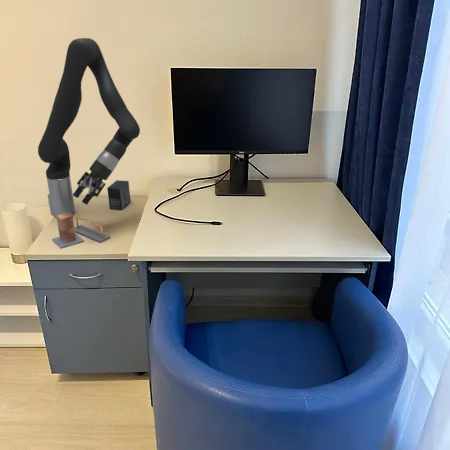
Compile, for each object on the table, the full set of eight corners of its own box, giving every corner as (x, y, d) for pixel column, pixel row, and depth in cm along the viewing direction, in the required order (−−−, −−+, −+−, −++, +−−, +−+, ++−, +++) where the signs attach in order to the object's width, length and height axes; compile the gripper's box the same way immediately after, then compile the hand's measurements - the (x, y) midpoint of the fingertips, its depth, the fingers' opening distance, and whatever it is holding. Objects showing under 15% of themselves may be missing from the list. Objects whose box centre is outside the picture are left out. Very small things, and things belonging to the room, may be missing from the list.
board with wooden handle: (100, 243, 163) (98, 226, 160) (70, 231, 172) (68, 214, 169) (110, 239, 167) (108, 222, 164) (81, 227, 176) (78, 210, 173)
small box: (118, 200, 202) (115, 179, 198) (131, 201, 201) (129, 180, 197) (108, 209, 193) (106, 187, 188) (122, 210, 192) (120, 188, 187)
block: (64, 243, 161) (60, 219, 157) (60, 239, 164) (56, 215, 160) (76, 240, 164) (72, 216, 160) (71, 235, 167) (67, 212, 163)
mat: (60, 248, 159) (60, 247, 158) (52, 239, 165) (51, 238, 165) (84, 241, 164) (84, 240, 164) (74, 233, 170) (74, 232, 170)
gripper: (89, 155, 166) (64, 189, 164) (105, 163, 156) (79, 200, 154) (103, 166, 171) (79, 199, 169) (120, 175, 161) (95, 210, 160)
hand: (79, 199), depth 162 cm, fingers open, 8 cm apart
